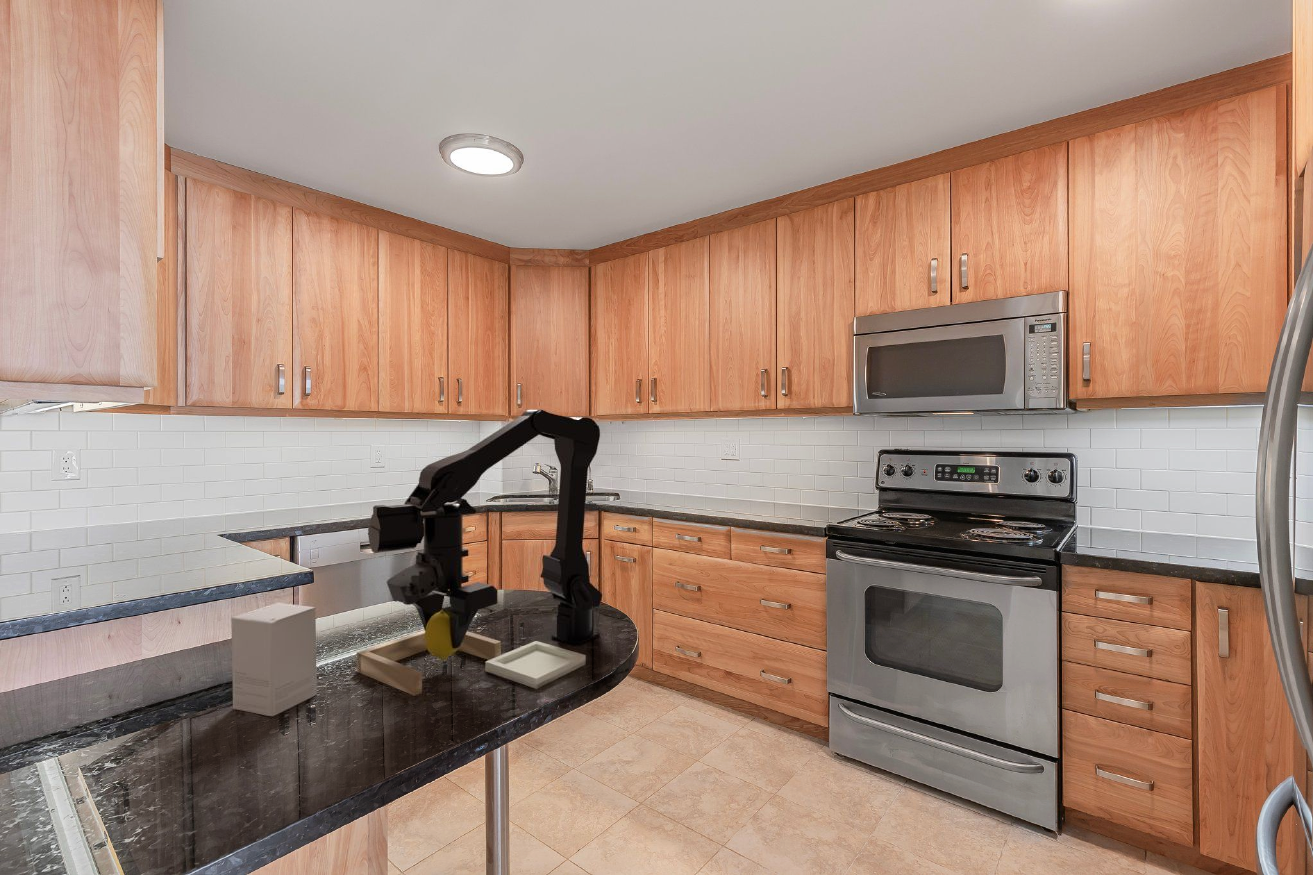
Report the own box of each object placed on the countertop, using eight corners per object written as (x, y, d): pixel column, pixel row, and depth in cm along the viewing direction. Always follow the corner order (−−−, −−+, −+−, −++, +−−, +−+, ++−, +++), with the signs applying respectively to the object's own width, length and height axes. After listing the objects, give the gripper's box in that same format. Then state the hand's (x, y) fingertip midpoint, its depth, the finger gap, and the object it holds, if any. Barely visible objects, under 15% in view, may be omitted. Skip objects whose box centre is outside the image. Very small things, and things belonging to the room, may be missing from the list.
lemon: (450, 668, 93) (450, 616, 93) (417, 665, 94) (417, 613, 94) (468, 654, 99) (468, 605, 98) (437, 651, 100) (437, 602, 99)
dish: (535, 649, 106) (535, 640, 105) (585, 664, 99) (585, 655, 99) (485, 671, 96) (485, 661, 96) (536, 688, 90) (536, 678, 90)
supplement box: (318, 694, 88) (318, 606, 87) (271, 718, 81) (270, 622, 80) (280, 686, 90) (279, 600, 90) (230, 709, 83) (229, 616, 83)
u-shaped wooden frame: (443, 640, 109) (443, 624, 109) (500, 659, 101) (500, 641, 101) (356, 671, 96) (356, 652, 96) (414, 695, 88) (414, 674, 88)
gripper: (359, 545, 94) (360, 646, 95) (437, 562, 84) (437, 676, 84) (423, 534, 104) (423, 626, 104) (500, 548, 93) (500, 650, 94)
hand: (443, 643), depth 96 cm, fingers closed on lemon, 6 cm apart
